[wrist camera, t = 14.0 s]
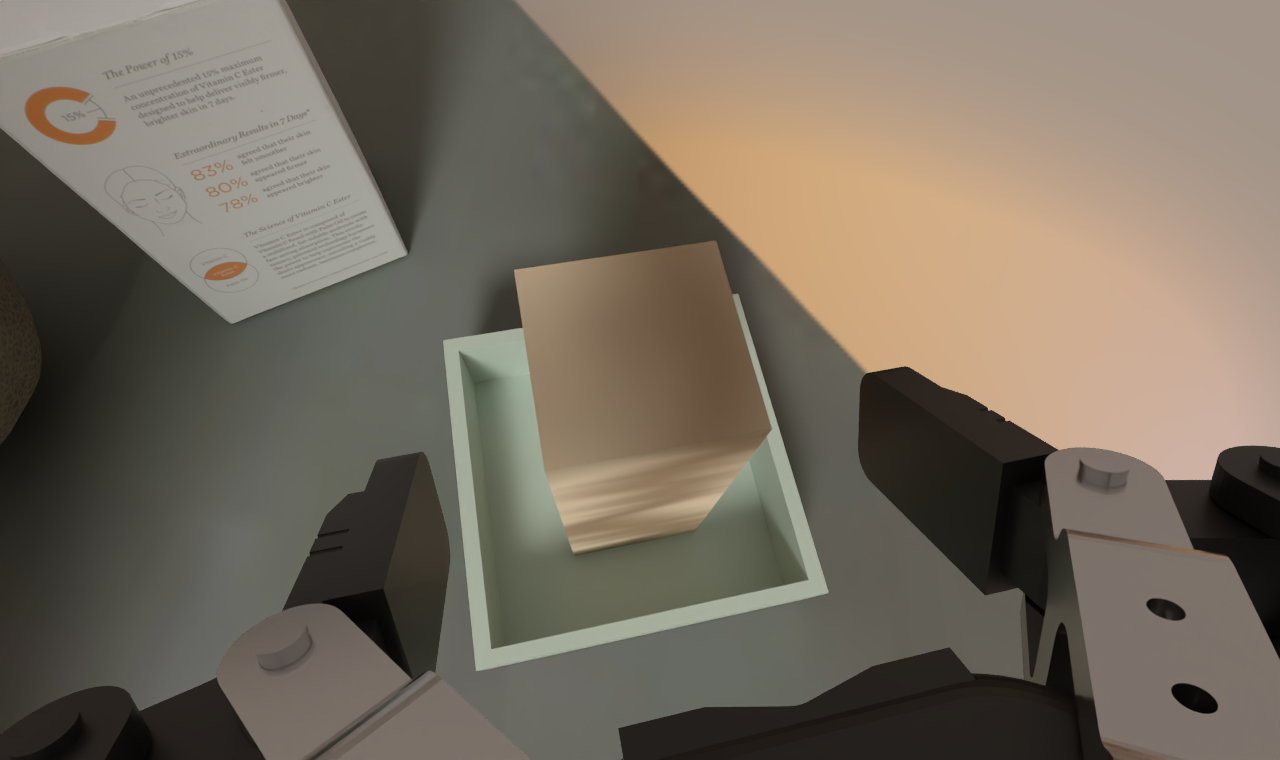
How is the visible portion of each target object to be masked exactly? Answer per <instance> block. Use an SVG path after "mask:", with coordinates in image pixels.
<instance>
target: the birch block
mask: <svg viewBox="0 0 1280 760" xmlns="http://www.w3.org/2000/svg"><path fill="white" fill-rule="evenodd" d="M514 273H515V280H516V287H517V293H518V300H519V306H520V313H521V320H522V326H523V333H524V339H525V346H526V352H527V359H528V366H529V372H530V379H531V385H532V392H533V399H534V405H535V412H536V418H537V425H538V432H539V438H540V445H541V451H542V458H543V465H544V471H545V474H546V477H547V480H548V483H549V485H550V488H551V491H552V494H553V497H554V500H555V503H556V505H557V508H558V511H559V514H560V517H561V520H562V523H563V525H564V528H565V531H566V534H567V537H568V540H569V543H570V545H571V548H572V551H573V554H574V556H577V555H582V554H587V553H591V552H596V551H601V550H606V549H611V548H616V547H621V546H626V545H631V544H636V543H641V542H646V541H651V540H656V539H661V538H666V537H670V536H675V535H680V534H685V533H690V532H695V531H696V529H697V528H698V527H699V525H700V524H701V523H702V521H703V520H704V519H705V517H706V516H707V515H708V513H709V512H710V511H711V509H712V508H713V507H714V505H715V504H716V503H717V501H718V500H719V499H720V497H721V496H722V495H723V493H724V492H725V491H726V489H727V488H728V487H729V486H730V484H731V483H732V482H733V480H734V479H735V478H736V476H737V475H738V474H739V472H740V471H741V470H742V468H743V467H744V466H745V464H746V463H747V462H748V460H749V459H750V458H751V456H752V455H753V454H754V452H755V451H756V450H757V448H758V447H759V446H760V444H761V443H762V442H763V440H764V439H765V438H766V436H767V435H768V434H769V433H770V431H771V430H772V427H771V424H770V420H769V417H768V414H767V410H766V407H765V403H764V400H763V397H762V393H761V390H760V387H759V383H758V380H757V376H756V373H755V370H754V366H753V363H752V360H751V356H750V353H749V350H748V346H747V343H746V339H745V336H744V333H743V329H742V326H741V323H740V319H739V316H738V312H737V309H736V306H735V302H734V299H733V296H732V292H731V289H730V285H729V282H728V279H727V275H726V272H725V269H724V265H723V262H722V258H721V255H720V252H719V248H718V245H717V242H716V241H709V242H702V243H695V244H688V245H681V246H674V247H668V248H661V249H654V250H647V251H640V252H633V253H627V254H620V255H613V256H606V257H599V258H592V259H585V260H579V261H572V262H565V263H558V264H551V265H544V266H537V267H531V268H524V269H517V270H514Z"/></svg>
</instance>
